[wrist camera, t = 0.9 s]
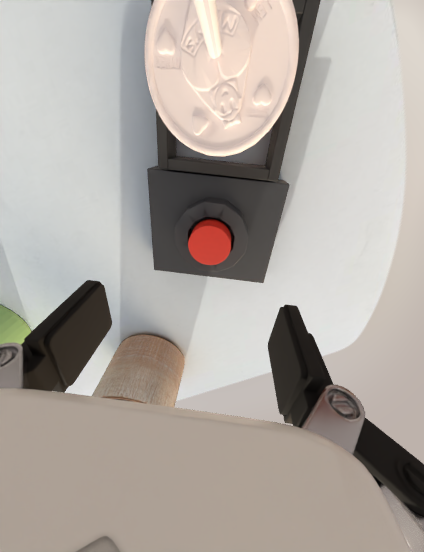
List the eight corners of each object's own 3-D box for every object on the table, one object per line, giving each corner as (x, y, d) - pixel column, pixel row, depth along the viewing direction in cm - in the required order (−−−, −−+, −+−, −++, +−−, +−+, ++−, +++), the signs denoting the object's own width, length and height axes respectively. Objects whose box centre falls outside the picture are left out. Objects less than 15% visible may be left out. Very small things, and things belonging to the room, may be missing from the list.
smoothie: (256, 27, 14) (360, -474, 3) (274, 133, 18) (358, 117, 6) (173, 71, 16) (7, -122, 4) (202, 161, 19) (153, 194, 7)
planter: (185, 378, 38) (172, 442, 29) (125, 370, 38) (96, 432, 30) (185, 335, 32) (168, 402, 24) (114, 327, 32) (74, 390, 24)
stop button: (192, 216, 18) (188, 223, 17) (233, 221, 18) (233, 228, 17) (190, 253, 20) (187, 262, 19) (228, 258, 20) (227, 267, 19)
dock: (164, 6, 14) (149, -23, 12) (306, 19, 14) (322, -8, 12) (167, 165, 20) (158, 168, 17) (271, 176, 19) (277, 181, 17)
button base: (155, 166, 20) (139, 171, 16) (284, 180, 19) (295, 188, 16) (159, 260, 25) (148, 278, 22) (261, 272, 25) (265, 293, 21)
